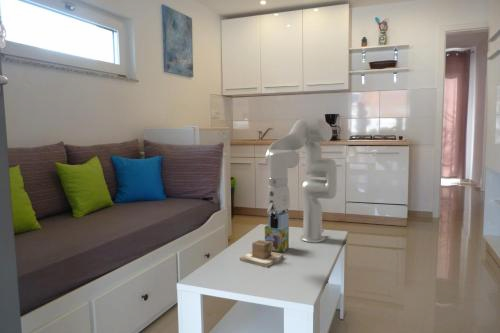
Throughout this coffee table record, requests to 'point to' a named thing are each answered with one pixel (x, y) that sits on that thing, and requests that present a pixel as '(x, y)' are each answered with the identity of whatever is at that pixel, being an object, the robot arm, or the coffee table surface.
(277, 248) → the chalk box
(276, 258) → the tan square board
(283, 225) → the slate cube
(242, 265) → the coffee table surface
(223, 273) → the coffee table surface
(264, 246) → the walnut cube
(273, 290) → the coffee table surface
